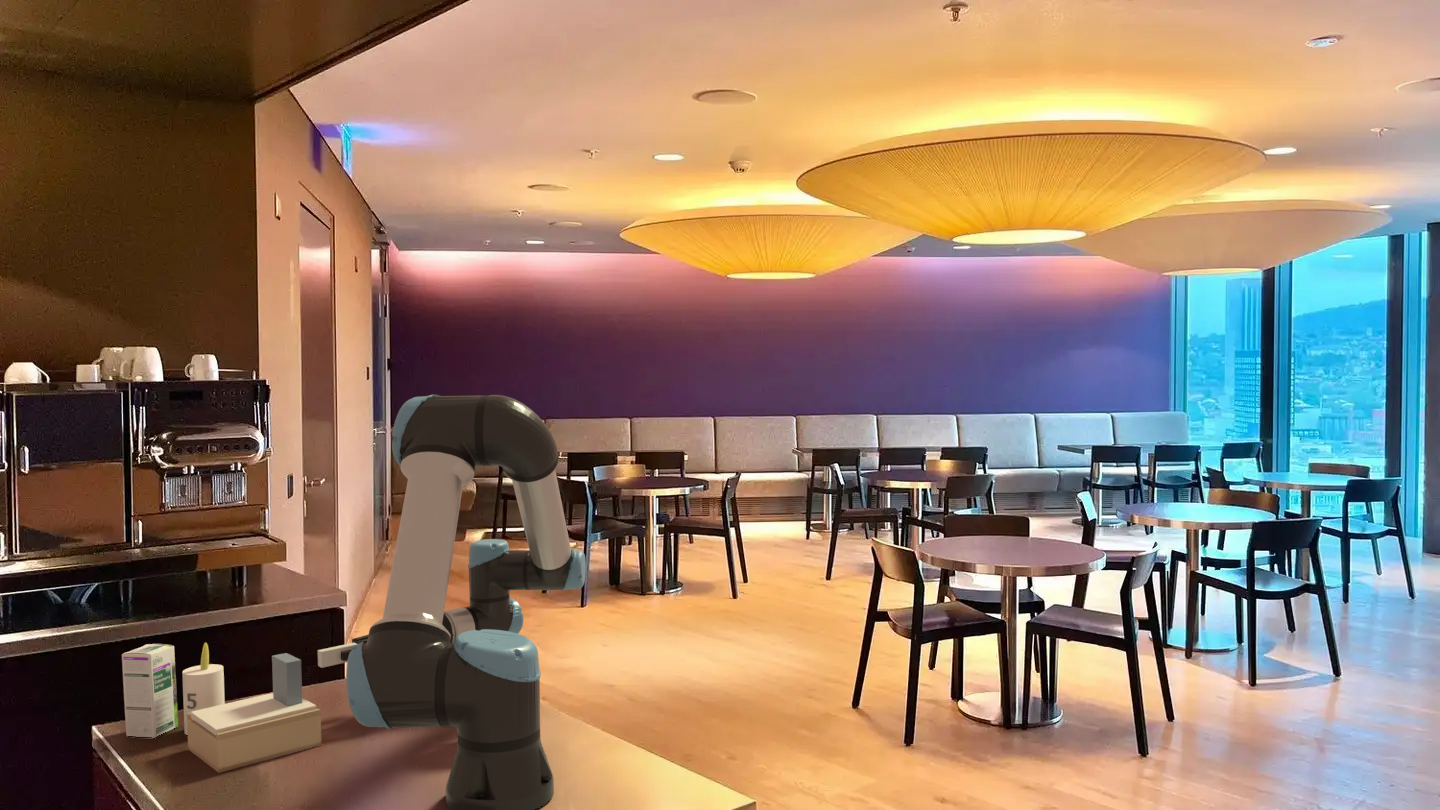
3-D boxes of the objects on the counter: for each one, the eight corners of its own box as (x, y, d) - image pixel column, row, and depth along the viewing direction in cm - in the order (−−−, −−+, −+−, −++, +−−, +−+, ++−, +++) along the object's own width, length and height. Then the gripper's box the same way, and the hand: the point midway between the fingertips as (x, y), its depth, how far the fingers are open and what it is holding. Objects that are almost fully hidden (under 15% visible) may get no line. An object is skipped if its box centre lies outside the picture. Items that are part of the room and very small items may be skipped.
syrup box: (154, 739, 176) (151, 653, 175) (124, 737, 177) (121, 651, 177) (179, 727, 182) (176, 644, 181) (149, 725, 183) (146, 642, 182)
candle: (175, 736, 177) (172, 648, 177) (200, 723, 184) (197, 637, 183) (209, 738, 176) (206, 649, 176) (233, 724, 183) (230, 639, 182)
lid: (287, 695, 181) (285, 648, 181) (316, 711, 173) (315, 662, 172) (190, 717, 170) (188, 667, 170) (216, 736, 162) (214, 683, 162)
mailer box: (286, 724, 182) (285, 690, 182) (321, 745, 172) (320, 709, 172) (188, 749, 171) (186, 713, 171) (219, 773, 161) (217, 734, 161)
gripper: (463, 659, 191) (337, 689, 175) (427, 645, 200) (304, 672, 184) (462, 618, 191) (335, 644, 174) (426, 606, 200) (303, 630, 184)
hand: (319, 658), depth 179 cm, fingers closed
